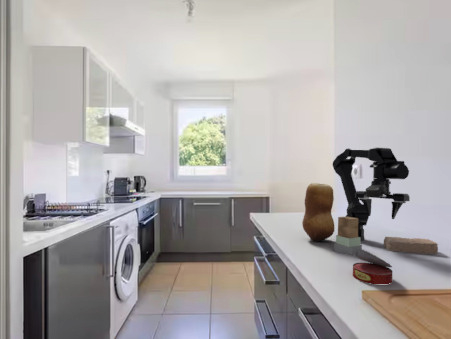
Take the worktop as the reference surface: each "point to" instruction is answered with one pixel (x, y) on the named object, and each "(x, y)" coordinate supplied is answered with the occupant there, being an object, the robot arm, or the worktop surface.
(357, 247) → the base block
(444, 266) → the worktop surface
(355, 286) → the worktop surface
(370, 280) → the canned food
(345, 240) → the top block
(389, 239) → the brick
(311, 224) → the butternut squash
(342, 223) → the tan rectangular prism
